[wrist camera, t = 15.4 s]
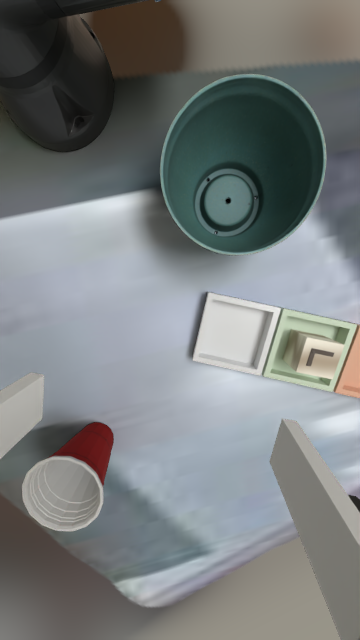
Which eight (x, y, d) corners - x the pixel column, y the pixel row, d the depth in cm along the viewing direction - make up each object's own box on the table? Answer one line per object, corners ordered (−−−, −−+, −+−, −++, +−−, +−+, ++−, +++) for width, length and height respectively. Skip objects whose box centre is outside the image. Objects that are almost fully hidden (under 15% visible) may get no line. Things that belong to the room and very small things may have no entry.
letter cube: (291, 329, 35) (307, 337, 30) (324, 335, 35) (345, 345, 30) (282, 359, 36) (296, 372, 31) (314, 365, 36) (333, 380, 31)
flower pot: (306, 179, 32) (363, 128, 21) (244, 282, 35) (266, 283, 24) (206, 119, 31) (212, 37, 21) (151, 229, 34) (132, 206, 24)
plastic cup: (139, 429, 40) (117, 492, 29) (109, 471, 42) (76, 545, 31) (88, 396, 40) (43, 445, 28) (59, 440, 42) (6, 503, 30)
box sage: (277, 306, 35) (283, 308, 32) (345, 321, 35) (357, 324, 32) (258, 369, 37) (263, 376, 34) (323, 384, 37) (332, 392, 34)
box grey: (207, 291, 35) (208, 292, 33) (275, 306, 35) (281, 308, 33) (192, 355, 37) (192, 360, 35) (256, 369, 37) (260, 375, 34)
